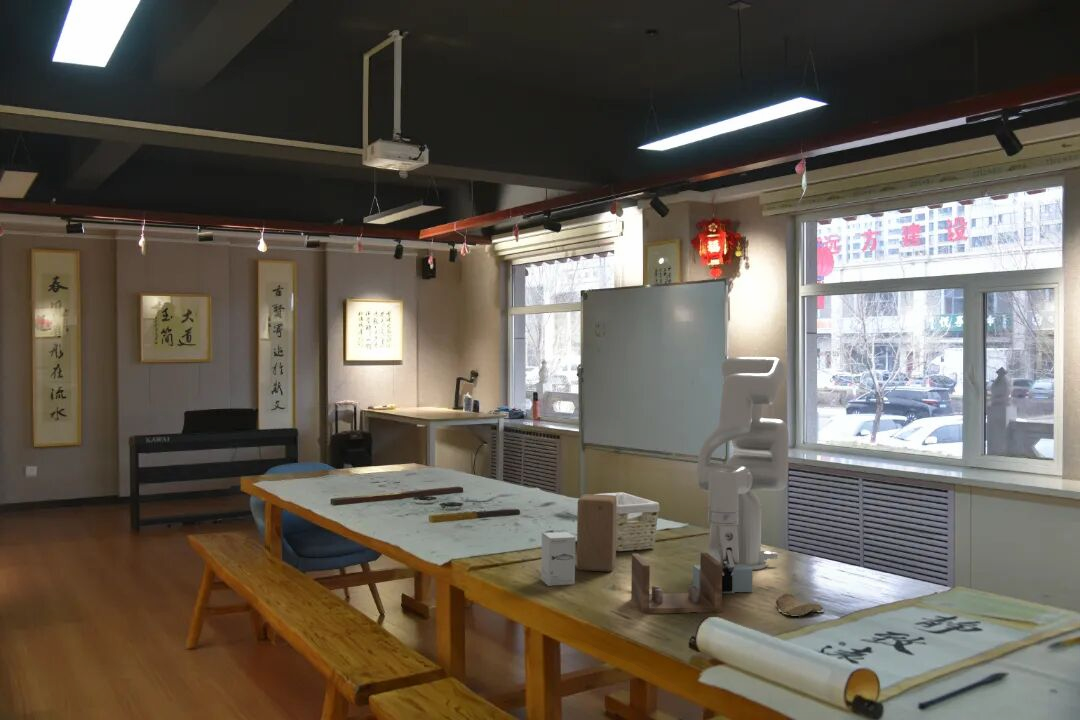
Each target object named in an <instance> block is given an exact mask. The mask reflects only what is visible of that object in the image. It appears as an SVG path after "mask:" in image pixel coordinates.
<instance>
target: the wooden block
mask: <svg viewBox="0 0 1080 720" xmlns="http://www.w3.org/2000/svg"><path fill="white" fill-rule="evenodd" d="M595 494H596V493H595ZM595 494H591V493H590V494H589V493H585V494H582V496H580V497H579V498H578V500H577V512H576V513H577V515H576V516H577V518H576V519H577V524H576V526H577V527H576V533H577V534H576V539H577V540H576V569H578V570H579V571H590V572H606V573H609V572H612V571H613V568H614V567H615V565H616V562H617V551H616V506H617V499H616V496H614V495H595Z"/></svg>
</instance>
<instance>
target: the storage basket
mask: <svg viewBox="0 0 1080 720" xmlns="http://www.w3.org/2000/svg"><path fill="white" fill-rule="evenodd" d="M595 495H614V496H616V499H617V506H616V552H628V551H634V550H636V551H640V550H648V549H649V550H650V549H654V548H655V546H656V538H657V529H658V527H657V525H658V520H659V513H660V503H659V502H658V501H653V500H650V499H647V498H643V497H639V496H637V495H633V494H629V493H625V492H624V491H621V492H619V491H618V492H605V493H595Z"/></svg>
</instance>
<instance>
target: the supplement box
mask: <svg viewBox="0 0 1080 720" xmlns="http://www.w3.org/2000/svg"><path fill="white" fill-rule="evenodd" d="M540 564H541V566H540V567H541V568H540V569H541V570H540V571H541V572H540V575H541V576H540V580H542V582H543V583H544V584H546V585H547V586H548V587H552V586H568V585H569V586H570V585H571V586H572V585H573V586H574V585H576V584H575V583H576V582H575V579H576V578H575V577H576V574H575V573H576V536H574V535H573V534H571V533H570V532H568V531H565V532H563V531H562V532H561V531H560V532H557V531H556V532H541V562H540Z"/></svg>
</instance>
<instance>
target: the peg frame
mask: <svg viewBox="0 0 1080 720" xmlns="http://www.w3.org/2000/svg"><path fill="white" fill-rule="evenodd" d="M699 565H700V593H699V589H697V588H696V586H695V585H693V584H689V585H688V586H687V587H688V589H687V592H685V593H684V592H683V593H682V592H679V593H673V592H672V593H663V591H664V590H663V589H661V587H660V586H659V585H652V586H651V593H650V584H651V583H650V580H651V579H650V576H651V575H650V569H651V568H650V567H651V565H650V564H649V563H648V562H647V561H646V560H645V559H644V558H643V557H642V556H641V555H640V554H639V553H632V554H631V594H630V597H631V598H630V599H631V602H632V603H633V604H634V605H635V606H636V608H637V609H638V610H639V611H640V612H642V613H650V614H678V613H679V614H681V613H682V614H685V613H686V614H689V613H690V612H697V613H715V612H714V611H722V610H723V609H722V608H723V607H722V605H723V593H722V564H721V563H720V562H718V561H717V560H716V559H714V558H713V557H712V556H711V555H710V553H708V552H700V564H699ZM712 611H713V612H712ZM722 612H723V611H722ZM642 613H641V614H642ZM690 614H691V613H690Z"/></svg>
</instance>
